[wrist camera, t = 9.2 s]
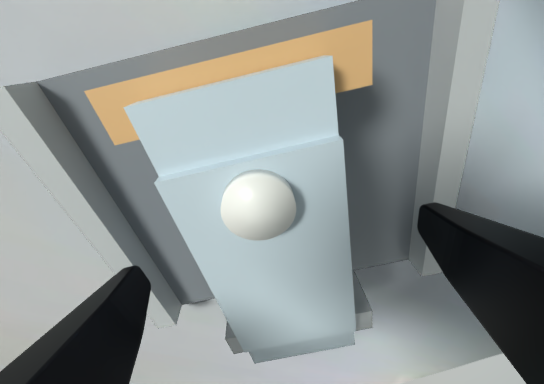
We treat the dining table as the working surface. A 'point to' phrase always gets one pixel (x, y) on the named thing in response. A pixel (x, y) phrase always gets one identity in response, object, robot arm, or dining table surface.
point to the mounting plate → (253, 58)
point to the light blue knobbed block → (261, 201)
